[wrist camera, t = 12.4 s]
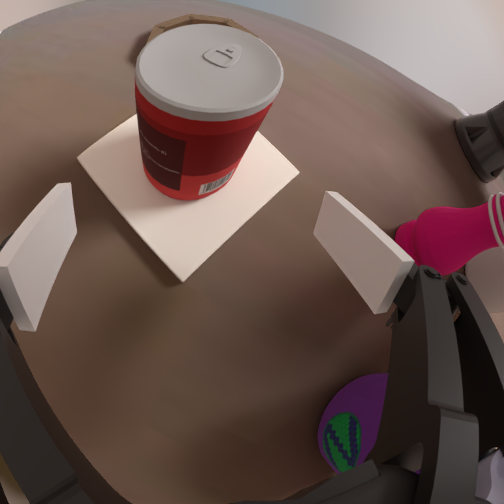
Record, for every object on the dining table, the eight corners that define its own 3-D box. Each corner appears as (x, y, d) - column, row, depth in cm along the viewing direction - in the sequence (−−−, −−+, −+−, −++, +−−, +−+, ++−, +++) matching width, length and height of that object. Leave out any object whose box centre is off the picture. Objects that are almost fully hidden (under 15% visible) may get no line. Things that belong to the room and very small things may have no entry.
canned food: (245, 138, 23) (294, 47, 13) (219, 217, 21) (267, 137, 11) (165, 113, 22) (177, 12, 11) (127, 188, 20) (104, 90, 9)
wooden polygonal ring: (209, 16, 27) (211, 8, 26) (277, 62, 28) (281, 53, 27) (127, 46, 23) (127, 36, 22) (194, 100, 24) (196, 90, 22)
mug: (318, 367, 22) (400, 391, 13) (403, 364, 25) (477, 371, 16) (286, 512, 18) (332, 567, 9) (369, 491, 21) (423, 522, 12)
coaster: (196, 86, 24) (198, 79, 23) (295, 176, 25) (299, 172, 24) (79, 162, 20) (76, 157, 19) (182, 283, 20) (183, 281, 19)
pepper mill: (383, 258, 27) (561, 201, 8) (398, 207, 29) (541, 137, 10) (420, 292, 28) (575, 262, 9) (432, 242, 30) (564, 197, 11)
